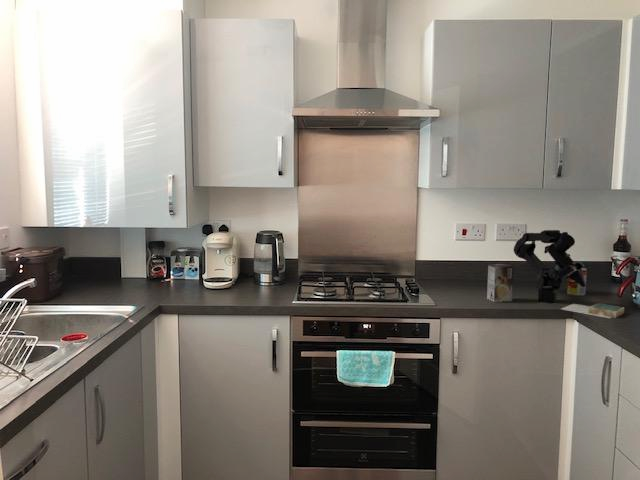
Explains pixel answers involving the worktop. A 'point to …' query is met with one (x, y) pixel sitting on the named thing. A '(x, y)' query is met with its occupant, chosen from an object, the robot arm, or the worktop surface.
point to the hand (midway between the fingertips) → (584, 286)
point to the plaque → (606, 310)
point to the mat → (580, 309)
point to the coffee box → (500, 282)
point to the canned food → (576, 285)
